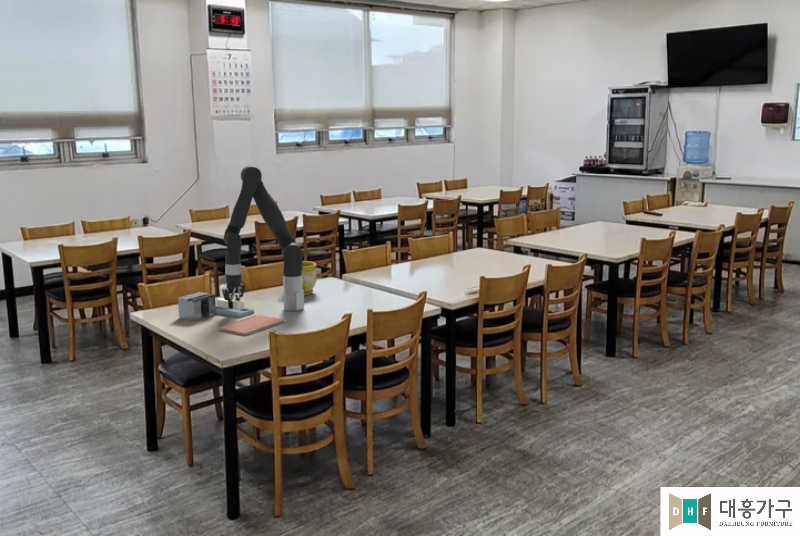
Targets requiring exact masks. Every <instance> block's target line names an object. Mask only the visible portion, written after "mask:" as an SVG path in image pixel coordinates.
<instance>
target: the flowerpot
mask: <svg viewBox="0 0 800 536" xmlns="http://www.w3.org/2000/svg"><path fill="white" fill-rule="evenodd" d="M282 267H283V268H284V263H283V264H282ZM316 267H317V263H316V262H314V261H311V260H309V261H307V260H303V264H302V290H304V295H305V296H308V295H307V294H310V293H311V294H312V293H313V292H314V288H315V286H316V283H317V272H316V271H317V269H316ZM311 294H310V295H311Z"/></svg>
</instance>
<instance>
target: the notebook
mask: <svg viewBox="0 0 800 536" xmlns="http://www.w3.org/2000/svg"><path fill="white" fill-rule="evenodd" d="M284 323H285V319H283V318H280V317H279V318H278V317H274V316H268V315H263V314H258V315H253V316H250V317H246V318H242V319H240V320H236V321H234V322H233V321H232V322H230V323H227V324H224V325H221V326H219V327H218V329H219V331H220V332H225V333H229V334H234V335H240V336H244V335H245V337H246V336H249V335H252V334H255V333H258V332H260V330H261V331H263V329H264V330H267V329H269V327H270V328H272V326H273V327H276V326H278V325H281V324H284ZM266 328H267V329H266ZM257 331H258V332H257ZM254 332H255V333H254ZM251 333H252V334H251ZM248 334H249V335H248Z"/></svg>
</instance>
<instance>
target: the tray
mask: <svg viewBox="0 0 800 536" xmlns="http://www.w3.org/2000/svg"><path fill="white" fill-rule="evenodd" d="M254 313H255V309H253V308H248V307H244V309H241V310H233V309H228V308H223V307H217V305H216V315H220V316H226V317H227V316H228V317H232V318H236V319H239V318H244V317H245V316H249V315H253V314H254Z"/></svg>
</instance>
